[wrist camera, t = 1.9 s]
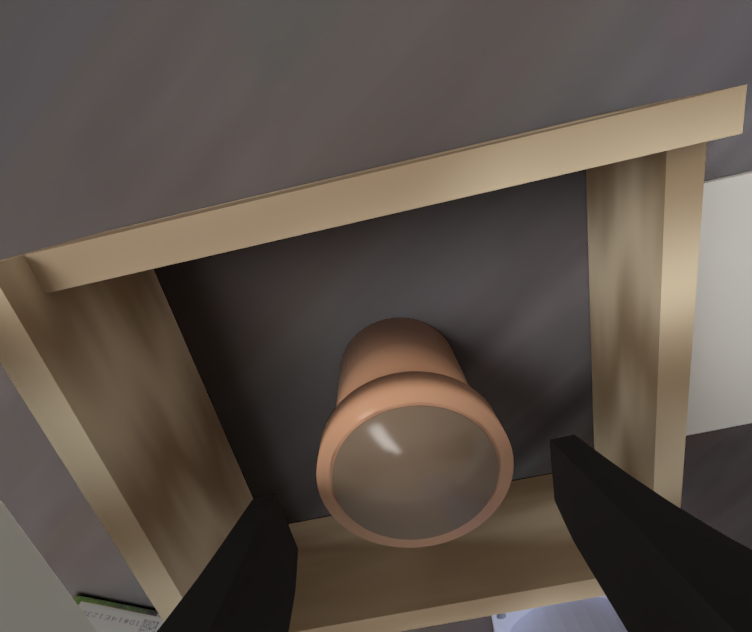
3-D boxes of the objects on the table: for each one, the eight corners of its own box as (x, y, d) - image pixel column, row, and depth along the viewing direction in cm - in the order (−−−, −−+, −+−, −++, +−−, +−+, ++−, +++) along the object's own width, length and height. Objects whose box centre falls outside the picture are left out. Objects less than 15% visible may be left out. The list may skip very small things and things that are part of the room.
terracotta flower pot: (471, 412, 18) (523, 531, 12) (349, 437, 18) (343, 565, 12) (452, 296, 16) (503, 372, 10) (316, 325, 16) (290, 416, 10)
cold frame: (616, 477, 19) (720, 608, 14) (253, 546, 20) (210, 695, 14) (614, 111, 13) (792, 75, 8) (107, 231, 14) (-55, 274, 9)
